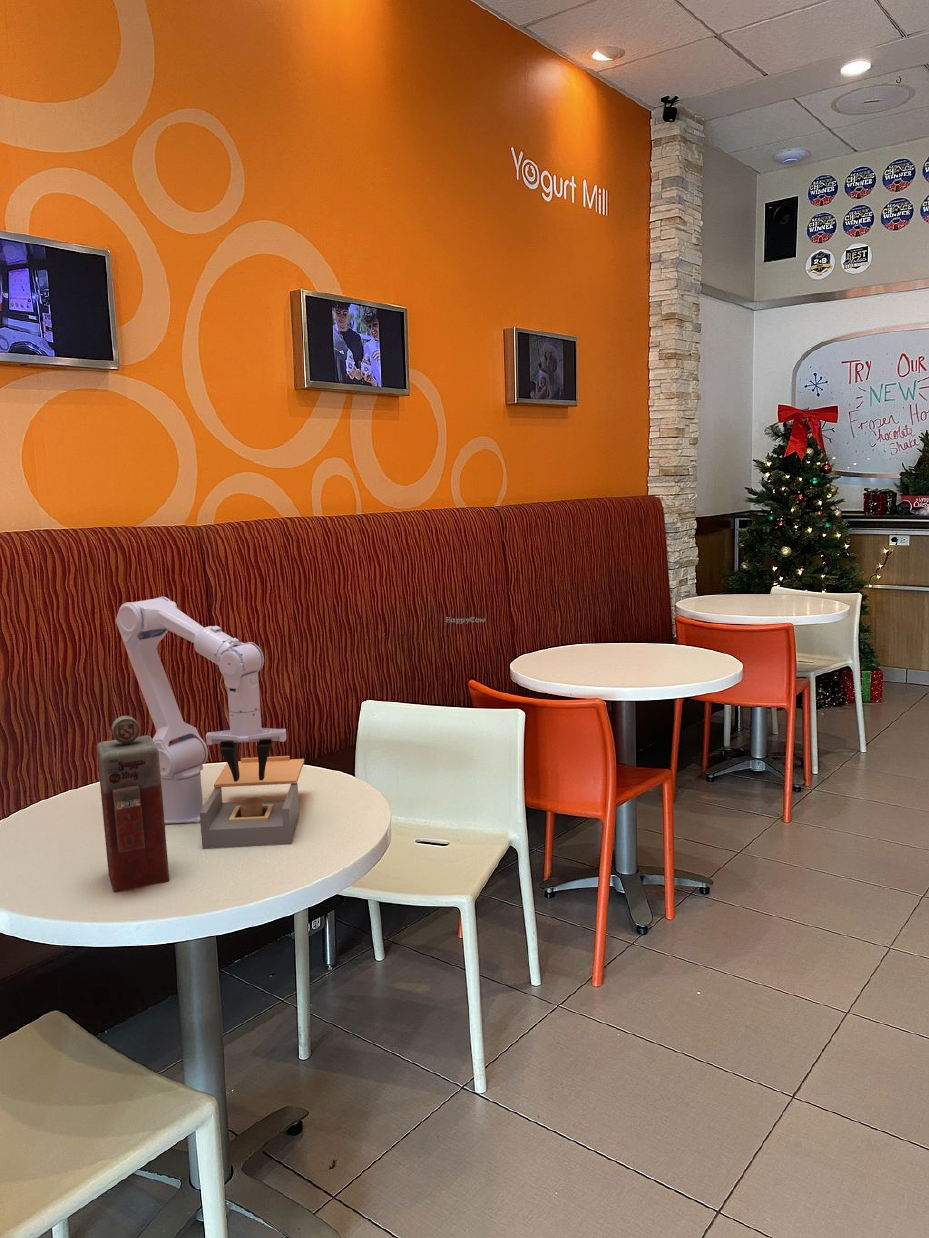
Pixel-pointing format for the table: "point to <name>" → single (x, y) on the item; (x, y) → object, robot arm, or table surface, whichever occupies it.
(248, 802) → the brown cylinder
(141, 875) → the vintage gas pump
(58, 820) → the table surface
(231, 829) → the housing
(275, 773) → the lid
